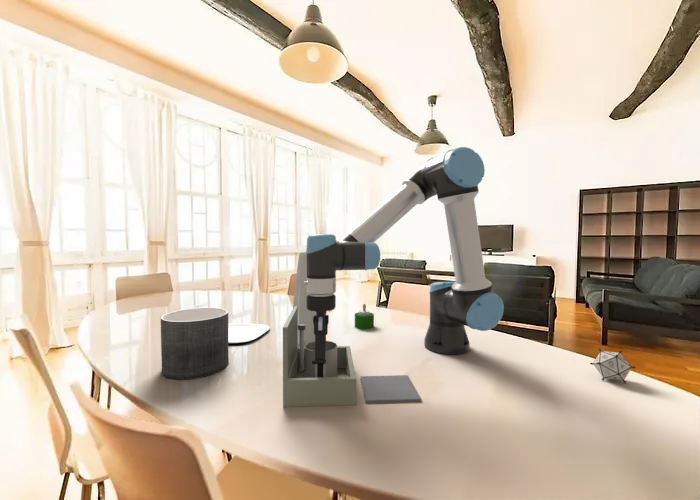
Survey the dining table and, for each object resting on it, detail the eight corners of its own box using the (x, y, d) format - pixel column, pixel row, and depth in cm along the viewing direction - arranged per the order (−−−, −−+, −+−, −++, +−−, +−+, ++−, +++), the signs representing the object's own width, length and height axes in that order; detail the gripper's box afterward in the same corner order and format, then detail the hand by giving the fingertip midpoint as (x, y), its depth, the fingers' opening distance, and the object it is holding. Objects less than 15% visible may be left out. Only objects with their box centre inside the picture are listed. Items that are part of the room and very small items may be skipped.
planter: (241, 361, 98) (241, 310, 98) (191, 385, 82) (190, 324, 82) (200, 352, 106) (200, 305, 105) (147, 373, 90) (146, 317, 89)
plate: (220, 325, 140) (220, 322, 140) (275, 328, 137) (275, 324, 137) (182, 344, 115) (182, 339, 115) (249, 348, 112) (248, 343, 112)
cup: (332, 392, 78) (332, 352, 78) (300, 389, 80) (300, 350, 80) (340, 378, 86) (340, 341, 86) (311, 375, 88) (311, 339, 88)
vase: (332, 345, 113) (332, 252, 112) (302, 352, 106) (302, 253, 105) (316, 337, 123) (316, 251, 122) (288, 342, 117) (287, 252, 115)
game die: (613, 391, 87) (632, 361, 88) (628, 393, 80) (649, 360, 80) (578, 369, 91) (597, 340, 92) (589, 369, 83) (610, 338, 84)
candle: (353, 328, 135) (353, 305, 134) (356, 323, 143) (356, 301, 142) (372, 329, 133) (373, 306, 133) (374, 324, 141) (374, 302, 141)
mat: (407, 377, 87) (407, 375, 87) (421, 401, 74) (421, 398, 74) (360, 378, 86) (360, 376, 86) (365, 403, 73) (365, 400, 73)
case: (350, 366, 95) (350, 305, 94) (355, 404, 72) (356, 326, 72) (294, 367, 94) (294, 306, 93) (283, 407, 71) (282, 327, 71)
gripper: (309, 287, 93) (309, 364, 93) (302, 301, 72) (302, 401, 72) (335, 287, 93) (334, 364, 94) (336, 301, 72) (336, 400, 73)
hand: (320, 380), depth 83 cm, fingers closed on cup, 8 cm apart
